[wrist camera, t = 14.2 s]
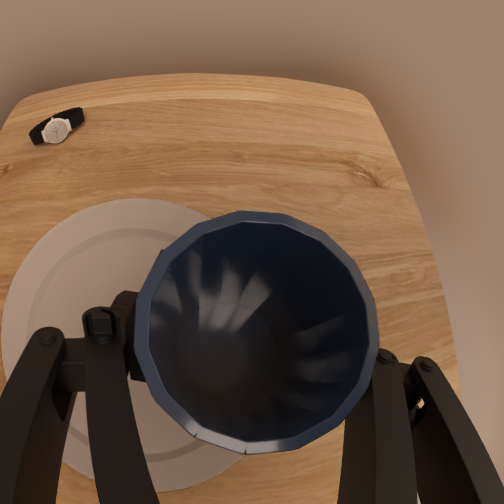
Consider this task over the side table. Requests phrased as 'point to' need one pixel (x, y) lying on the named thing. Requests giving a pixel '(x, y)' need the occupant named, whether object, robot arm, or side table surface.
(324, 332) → the tumbler
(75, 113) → the watch
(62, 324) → the plate
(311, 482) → the side table surface
